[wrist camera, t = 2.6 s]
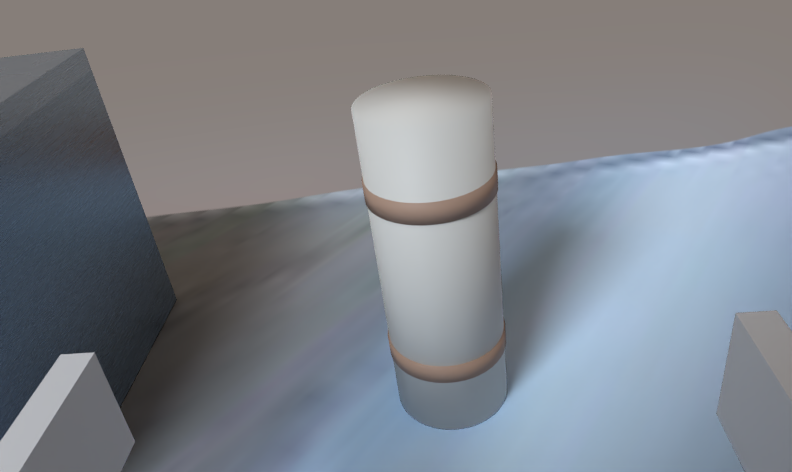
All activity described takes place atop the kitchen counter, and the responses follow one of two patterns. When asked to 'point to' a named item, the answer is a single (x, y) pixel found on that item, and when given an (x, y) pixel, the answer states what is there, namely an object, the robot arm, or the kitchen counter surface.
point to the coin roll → (437, 242)
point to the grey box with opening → (69, 234)
